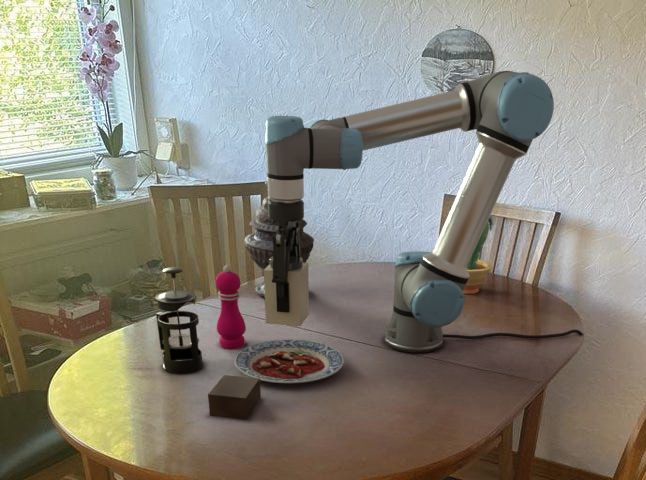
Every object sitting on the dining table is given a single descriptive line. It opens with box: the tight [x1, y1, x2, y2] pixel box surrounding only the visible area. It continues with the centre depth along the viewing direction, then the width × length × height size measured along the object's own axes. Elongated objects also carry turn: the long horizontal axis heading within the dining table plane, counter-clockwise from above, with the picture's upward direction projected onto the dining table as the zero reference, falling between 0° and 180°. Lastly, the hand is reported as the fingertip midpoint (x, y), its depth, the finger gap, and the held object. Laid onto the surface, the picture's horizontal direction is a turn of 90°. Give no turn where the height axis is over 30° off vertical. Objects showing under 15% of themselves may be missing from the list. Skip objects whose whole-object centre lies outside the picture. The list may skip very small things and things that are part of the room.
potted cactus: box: [463, 214, 494, 295], centre depth 218 cm, size 15×15×25 cm
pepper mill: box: [214, 264, 247, 350], centre depth 174 cm, size 7×7×20 cm
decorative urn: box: [244, 196, 315, 298], centre depth 206 cm, size 20×20×35 cm
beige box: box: [263, 255, 310, 327], centre depth 157 cm, size 15×8×15 cm
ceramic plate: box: [234, 339, 345, 384], centre depth 167 cm, size 26×26×3 cm
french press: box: [154, 267, 205, 375], centre depth 160 cm, size 12×9×23 cm
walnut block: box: [207, 374, 262, 421], centre depth 148 cm, size 8×10×5 cm
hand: (288, 305), depth 159 cm, fingers closed on beige box, 8 cm apart
